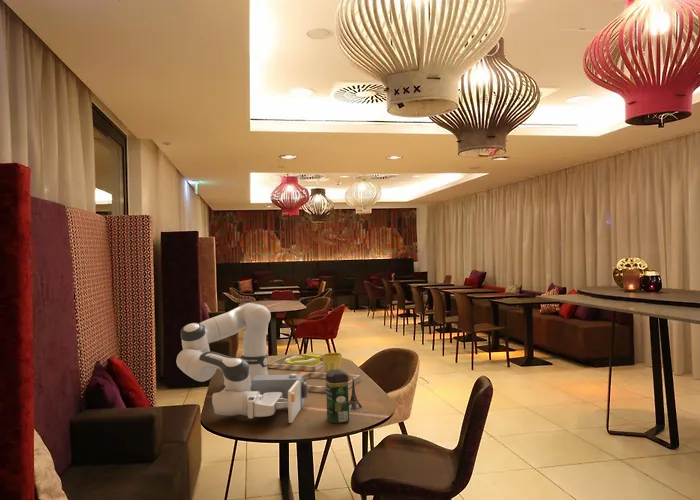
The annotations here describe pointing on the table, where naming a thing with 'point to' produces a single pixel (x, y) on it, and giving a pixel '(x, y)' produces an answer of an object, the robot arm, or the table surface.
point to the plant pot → (332, 361)
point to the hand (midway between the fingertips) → (290, 403)
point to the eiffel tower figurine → (354, 401)
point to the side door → (294, 400)
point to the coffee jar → (337, 396)
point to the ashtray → (303, 360)
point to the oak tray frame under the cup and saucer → (323, 375)
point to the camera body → (279, 385)
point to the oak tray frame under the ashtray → (294, 367)
